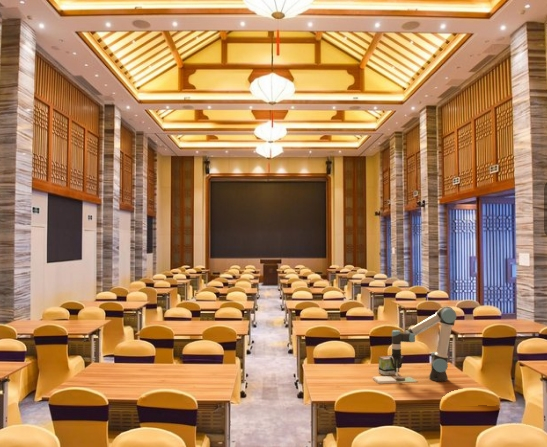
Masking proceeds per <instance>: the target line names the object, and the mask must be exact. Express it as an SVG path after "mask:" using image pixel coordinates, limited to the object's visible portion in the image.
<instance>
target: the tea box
mask: <svg viewBox="0 0 547 447" xmlns="http://www.w3.org/2000/svg"><path fill="white" fill-rule="evenodd" d="M391 356H392V355H388V356H387V355H386V356H378V374H381V375H383V376H391V375H392V376H393V375H395V371H394V368H393V367H392V364H391V360H390V358H389V357H391ZM392 358H393V357H392ZM393 363H394V358H393Z"/></svg>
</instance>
